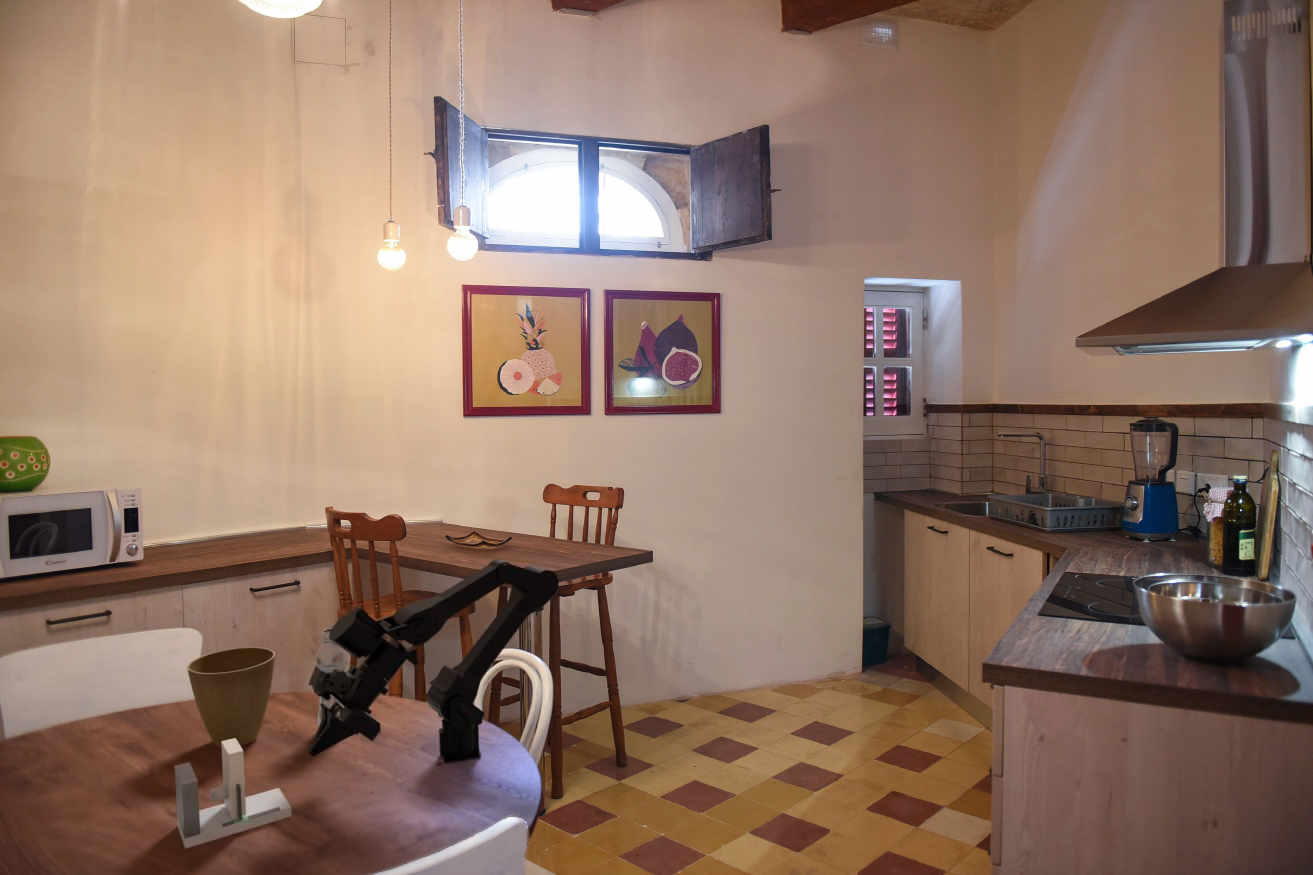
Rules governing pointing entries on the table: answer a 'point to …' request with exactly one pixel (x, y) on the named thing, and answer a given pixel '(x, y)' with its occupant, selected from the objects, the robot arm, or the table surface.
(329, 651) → the plastic bottle
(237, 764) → the cream upright slab
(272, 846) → the table surface
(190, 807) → the brushed steel plate
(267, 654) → the plant pot
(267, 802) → the base
